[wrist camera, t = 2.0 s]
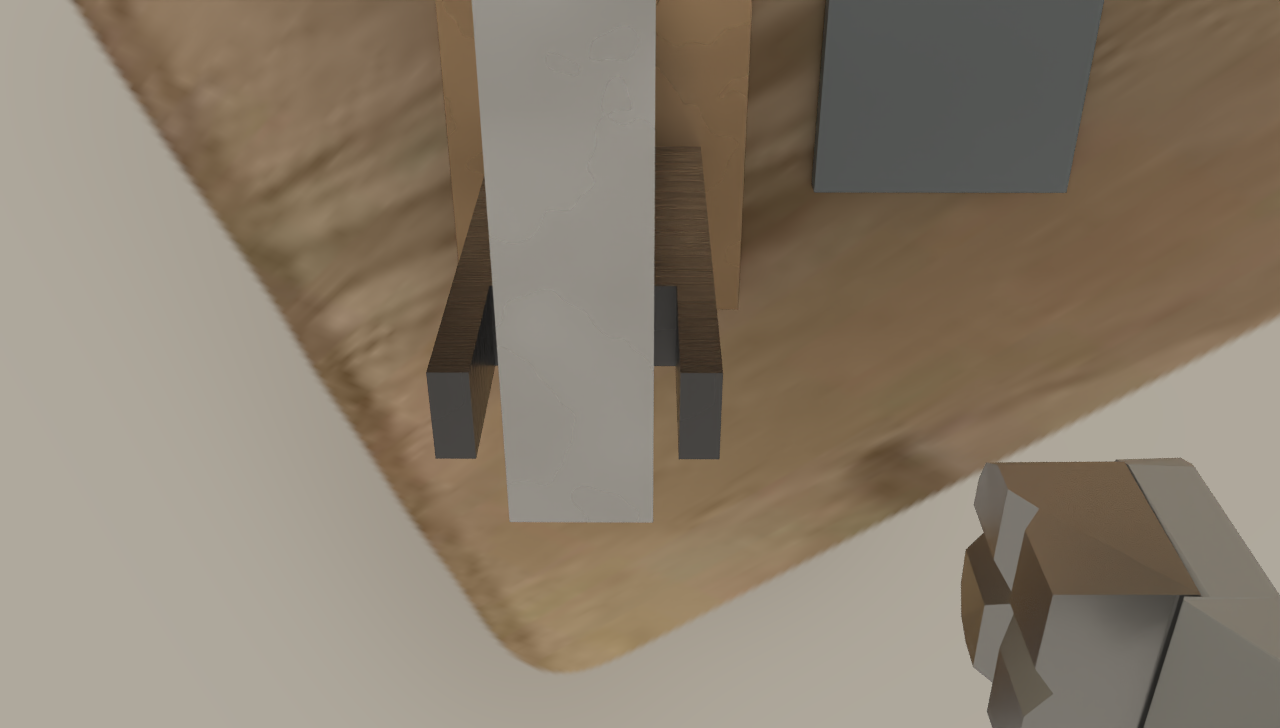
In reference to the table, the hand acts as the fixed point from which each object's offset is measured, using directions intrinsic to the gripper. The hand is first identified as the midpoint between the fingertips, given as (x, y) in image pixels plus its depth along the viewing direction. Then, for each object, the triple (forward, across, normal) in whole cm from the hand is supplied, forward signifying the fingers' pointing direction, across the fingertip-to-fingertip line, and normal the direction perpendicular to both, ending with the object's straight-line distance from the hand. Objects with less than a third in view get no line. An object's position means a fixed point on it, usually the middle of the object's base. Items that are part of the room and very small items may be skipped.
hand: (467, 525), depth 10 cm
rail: (+15, 0, 0) cm, 15 cm away
